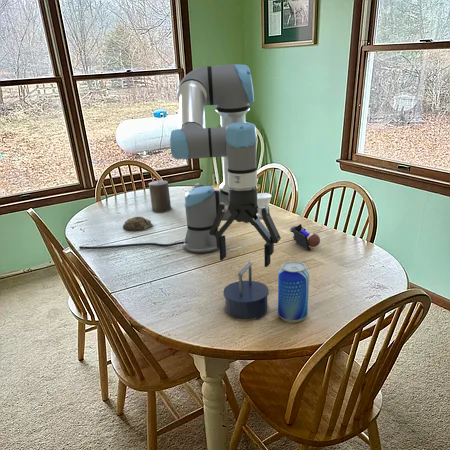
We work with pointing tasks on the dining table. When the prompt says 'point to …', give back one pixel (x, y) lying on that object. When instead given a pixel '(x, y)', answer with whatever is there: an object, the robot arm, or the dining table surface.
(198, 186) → the toy dinosaur
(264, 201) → the cup
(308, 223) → the dining table surface
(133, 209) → the dining table surface
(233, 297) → the lid
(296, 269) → the beer can
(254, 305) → the pot
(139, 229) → the bread roll
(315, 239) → the character figurine
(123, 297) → the dining table surface
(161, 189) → the pillar candle
